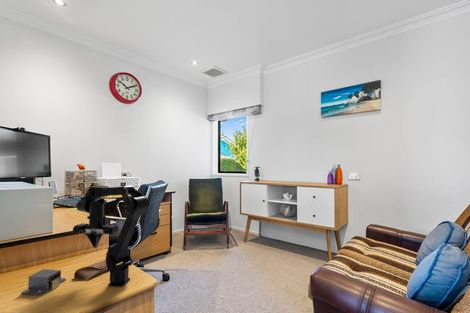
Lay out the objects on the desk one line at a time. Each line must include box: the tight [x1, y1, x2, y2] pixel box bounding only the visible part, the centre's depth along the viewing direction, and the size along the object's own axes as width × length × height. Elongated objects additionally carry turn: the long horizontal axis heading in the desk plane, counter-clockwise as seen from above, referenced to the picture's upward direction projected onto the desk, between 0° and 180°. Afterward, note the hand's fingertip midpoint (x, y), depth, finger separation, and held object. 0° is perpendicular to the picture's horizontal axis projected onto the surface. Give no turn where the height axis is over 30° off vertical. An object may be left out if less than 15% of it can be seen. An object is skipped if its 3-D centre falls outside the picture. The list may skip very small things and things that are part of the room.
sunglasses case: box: [73, 259, 109, 282], centre depth 112 cm, size 18×7×7 cm, turn 156°
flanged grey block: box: [20, 268, 66, 296], centre depth 97 cm, size 8×12×6 cm, turn 175°
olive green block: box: [48, 277, 61, 291], centre depth 97 cm, size 6×4×4 cm, turn 82°
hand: (95, 247), depth 109 cm, fingers closed
